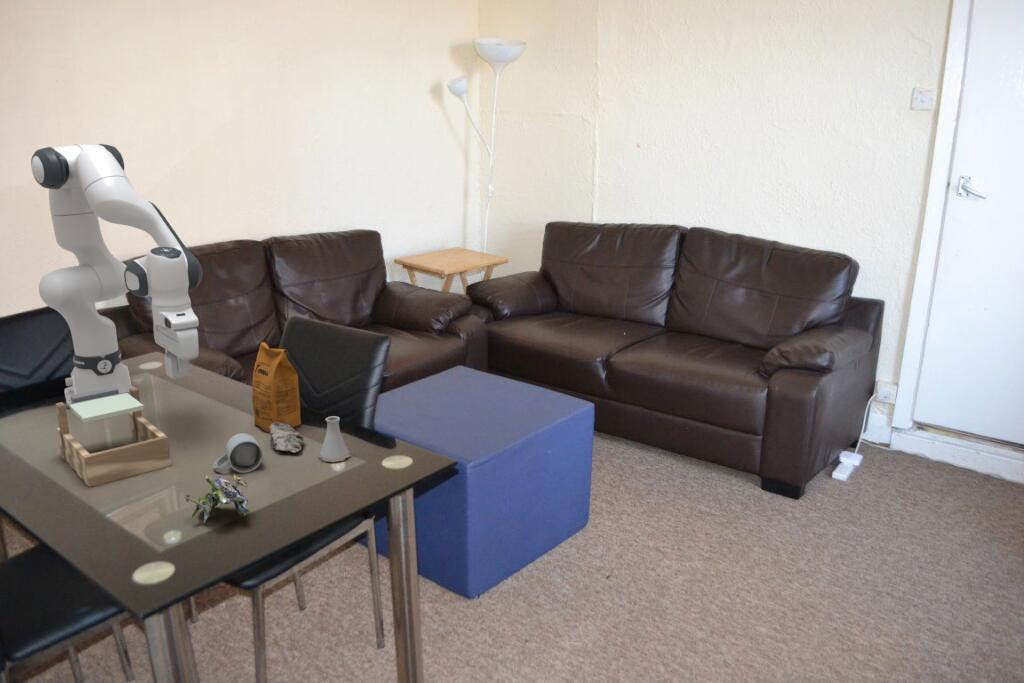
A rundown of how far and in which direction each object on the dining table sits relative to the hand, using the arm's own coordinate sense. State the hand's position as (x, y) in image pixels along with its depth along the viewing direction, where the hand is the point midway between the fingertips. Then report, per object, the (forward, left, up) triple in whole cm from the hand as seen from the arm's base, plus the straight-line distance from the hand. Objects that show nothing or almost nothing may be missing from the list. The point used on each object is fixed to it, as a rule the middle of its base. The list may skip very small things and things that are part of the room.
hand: (177, 368), depth 203 cm
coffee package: (+8, +21, -18) cm, 29 cm away
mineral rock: (+22, +17, -19) cm, 33 cm away
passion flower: (+48, -11, -18) cm, 53 cm away
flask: (+36, +22, -18) cm, 46 cm away
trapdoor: (0, -18, -6) cm, 19 cm away
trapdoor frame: (+4, -18, -18) cm, 26 cm away
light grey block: (0, 0, -2) cm, 2 cm away
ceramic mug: (+27, +2, -19) cm, 33 cm away
